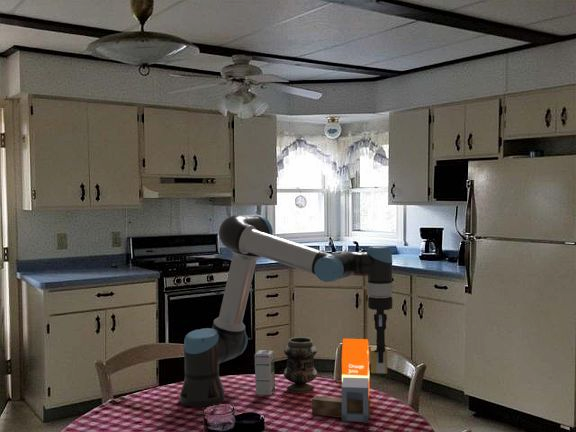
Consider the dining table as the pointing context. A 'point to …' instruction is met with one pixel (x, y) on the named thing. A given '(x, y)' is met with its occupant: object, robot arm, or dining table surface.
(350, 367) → the orange juice
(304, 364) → the brown ornate vase
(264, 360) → the syrup box
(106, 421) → the dining table surface
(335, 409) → the wooden bar
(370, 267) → the robot arm
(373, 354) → the block
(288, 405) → the dining table surface
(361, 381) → the grey framed box
